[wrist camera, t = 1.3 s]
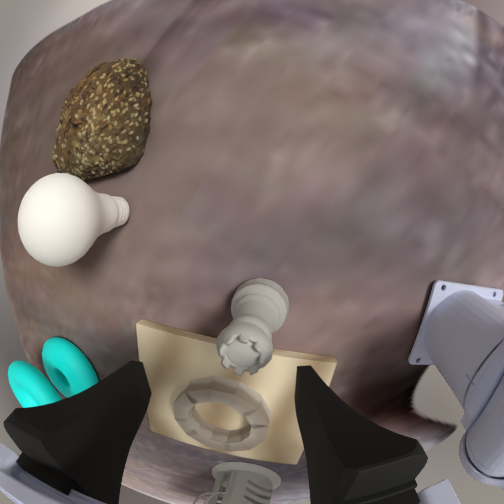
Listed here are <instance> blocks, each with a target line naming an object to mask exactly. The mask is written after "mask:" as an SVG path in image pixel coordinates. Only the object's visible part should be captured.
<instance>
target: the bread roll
mask: <svg viewBox="0 0 504 504" xmlns="http://www.w3.org/2000/svg"><path fill="white" fill-rule="evenodd" d="M148 86H149V81H148V77H147V71H146V70H145V68H144V67H143V65H141V64H140V63H139V62H138V60H137V59H135V58H133V59H129V58H122V59H118V60H115V61H112V62H101V63H100V64H98V65H96V66H95V67H94V68H93V69H91V70H89V71H88V72H87V73H86V74H85V76H84V78H83V79H82V80H81V81H80V82H79V83H78V84H77V86H76V88H75V89H71V90H70V91H69V92H68V95H67V97H66V100H65V101H64V104H63V107H62V110H61V113H60V123H59V125H58V126H57V134H56V137H55V140H56V141H55V144H54V148H53V150H52V160H53V162H54V164H55V166H56V168H57V169H58V170H59V173H68V174H70V175H73V176H76V177H78V178H80V179H81V180H82V181H84V180H89V179H96V178H99V177H102V176H106V175H107V174H110V173H114V172H119V171H121V170H124V169H129V168H130V167H132V166H134V165H135V164H136V163H137V162H138V161H139V160H140V158H141V156H142V154H143V153H144V147H145V143H146V139H147V136H148V134H149V131H150V126H149V121H150V118H151V117H150V110H151V106H152V97H151V95H150V90H149V88H148Z"/></svg>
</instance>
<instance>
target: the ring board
mask: <svg viewBox="0 0 504 504" xmlns="http://www.w3.org/2000/svg"><path fill="white" fill-rule="evenodd" d="M136 329H137V341H138V351H139V360H140V362H143V365H144V368H145V372H146V375H147V379H148V382H149V386H150V389H151V392H152V394H151V398H150V402H149V405H148V408H147V413H148V418H149V423H150V428H151V431H153V432H156V433H158V434H161V435H164V436H167V437H169V438H172V439H175V440H178V441H182V442H185V443H188V444H191V445H195V446H198V447H202V448H205V449H209V450H213V451H217V452H221V453H226V454H230V455H235V456H240V457H245V458H250V459H256V460H262V461H269V462H276V463H285V464H295V465H297V463H298V461H299V459H300V457H301V454H302V452H303V450H304V446H303V442H302V438H301V434H300V430H299V425H298V421H297V417H296V410H295V400H294V396H295V385H296V372H297V366H307V365H311V366H312V367H313V369H314V370H315V371H316V372H317V374H318V375H319V376H320V377H321V379H322V380H323V381H324V382H325V383H326V384H327V386H328V387H329V385H330V382H331V379H332V376H333V373H334V370H335V367H336V364H337V361H336V357H333V356H324V355H315V354H307V353H300V352H293V351H286V350H279V349H273V350H274V351H273V355H272V359H271V360H270V362H269V363H268V364H267V365H266V366H265V367H263V368H261V369H259V370H258V372H257V373H255V374H253V375H250V374H249V372H248V371H247V372H243V375H242V376H239V375H235V374H234V371H235V369H234V368H232V367H230V366H229V367H228V368H227V369H225V368H224V367H223V366H222V364H221V361H222V358H221V357H220V356H218V350H217V347H216V344H217V338H215V337H210V336H205V335H201V334H197V333H193V332H188V331H184V330H180V329H176V328H172V327H169V326H165V325H161V324H157V323H154V322H150V321H147V320H143V319H141V320H139V321H138V322H137V323H136Z"/></svg>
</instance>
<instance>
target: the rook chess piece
mask: <svg viewBox="0 0 504 504" xmlns="http://www.w3.org/2000/svg"><path fill="white" fill-rule="evenodd" d="M288 310H289V302H288V297H287V295H286V293H285V292H284V290H283V289H282V287H281V286H279V285H278V284H276V283H275V282H273V281H272V280H267V279H262V278H257V279H251V280H248V281H246V282H245V283H243V284H242V285H240V286H239V288H238V289H237V291H236V292H235V294H234V297H233V298H232V303H231V313H232V317H233V321H232V322H231V323H230V324H229V326H228V327H226V328H224V329H223V330H222V331H221V333H220V334H219V336H218V337H217V344H216V347H217V350H218V356H220V357H221V358H222V361H221V364H222V366H223V367H224V368H225V369H227V368H228V367H229V366H230V367H232V368H234V369H235V371H234V374H235V375H239V376H242V375H243V372H247V371H248V372H249V374H250V375H253V374H255V373H257V372H258V370H259V369H261V368H263V367H265V366H266V365H267V364H268V363H269V362H270V360H271V359H272V355H273V351H274V350H273V345H272V333H273V332H275V331H277V330H278V329H279V328H280V327H281V326H282V324H283V323H284V322H285V321H286V317H287V314H288Z"/></svg>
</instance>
